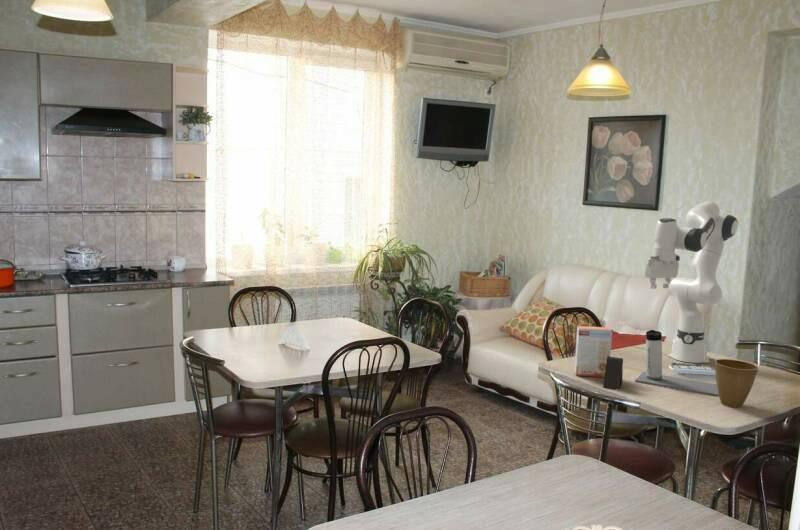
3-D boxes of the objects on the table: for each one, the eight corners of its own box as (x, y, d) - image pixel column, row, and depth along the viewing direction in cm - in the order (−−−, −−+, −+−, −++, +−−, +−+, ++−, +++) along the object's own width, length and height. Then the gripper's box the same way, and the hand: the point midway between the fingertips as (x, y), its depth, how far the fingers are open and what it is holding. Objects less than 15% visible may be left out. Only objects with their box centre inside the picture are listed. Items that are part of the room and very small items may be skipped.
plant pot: (717, 409, 263) (721, 367, 261) (706, 397, 277) (710, 357, 276) (759, 412, 261) (764, 370, 259) (745, 400, 275) (750, 360, 274)
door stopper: (607, 382, 292) (609, 354, 291) (622, 384, 290) (624, 356, 288) (602, 387, 285) (605, 358, 283) (618, 390, 282) (620, 361, 280)
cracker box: (606, 374, 305) (610, 327, 302) (609, 378, 299) (613, 330, 296) (573, 372, 306) (577, 325, 304) (575, 375, 300) (579, 327, 298)
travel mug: (659, 375, 302) (659, 329, 300) (663, 379, 295) (663, 332, 293) (644, 375, 302) (644, 330, 300) (648, 379, 296) (647, 333, 294)
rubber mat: (643, 373, 309) (643, 371, 309) (722, 387, 293) (722, 385, 293) (635, 381, 295) (635, 379, 295) (717, 396, 279) (717, 394, 279)
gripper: (656, 256, 291) (652, 289, 293) (682, 257, 304) (678, 288, 305) (642, 255, 296) (639, 287, 298) (669, 255, 309) (665, 286, 310)
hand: (659, 288), depth 302 cm, fingers open, 8 cm apart
